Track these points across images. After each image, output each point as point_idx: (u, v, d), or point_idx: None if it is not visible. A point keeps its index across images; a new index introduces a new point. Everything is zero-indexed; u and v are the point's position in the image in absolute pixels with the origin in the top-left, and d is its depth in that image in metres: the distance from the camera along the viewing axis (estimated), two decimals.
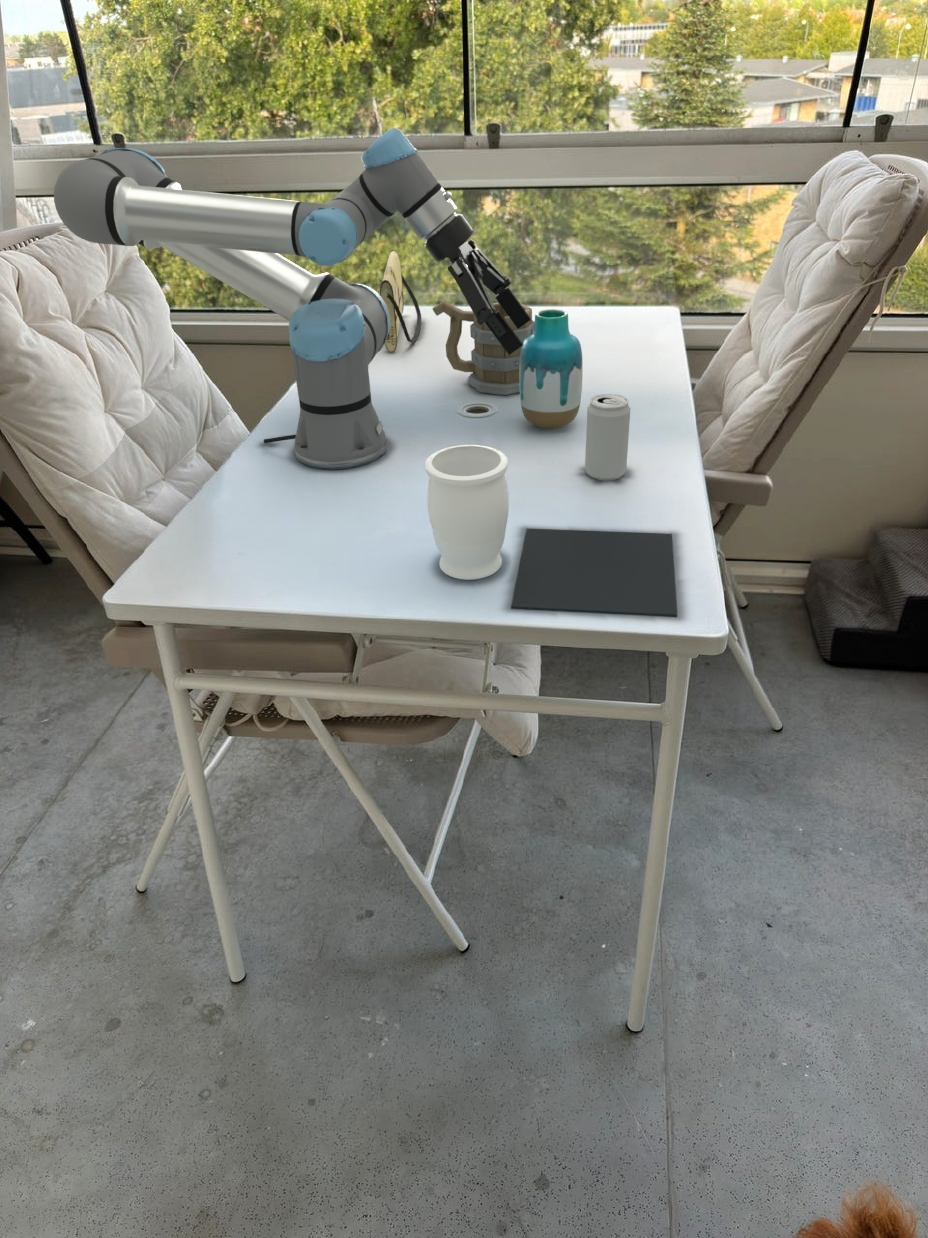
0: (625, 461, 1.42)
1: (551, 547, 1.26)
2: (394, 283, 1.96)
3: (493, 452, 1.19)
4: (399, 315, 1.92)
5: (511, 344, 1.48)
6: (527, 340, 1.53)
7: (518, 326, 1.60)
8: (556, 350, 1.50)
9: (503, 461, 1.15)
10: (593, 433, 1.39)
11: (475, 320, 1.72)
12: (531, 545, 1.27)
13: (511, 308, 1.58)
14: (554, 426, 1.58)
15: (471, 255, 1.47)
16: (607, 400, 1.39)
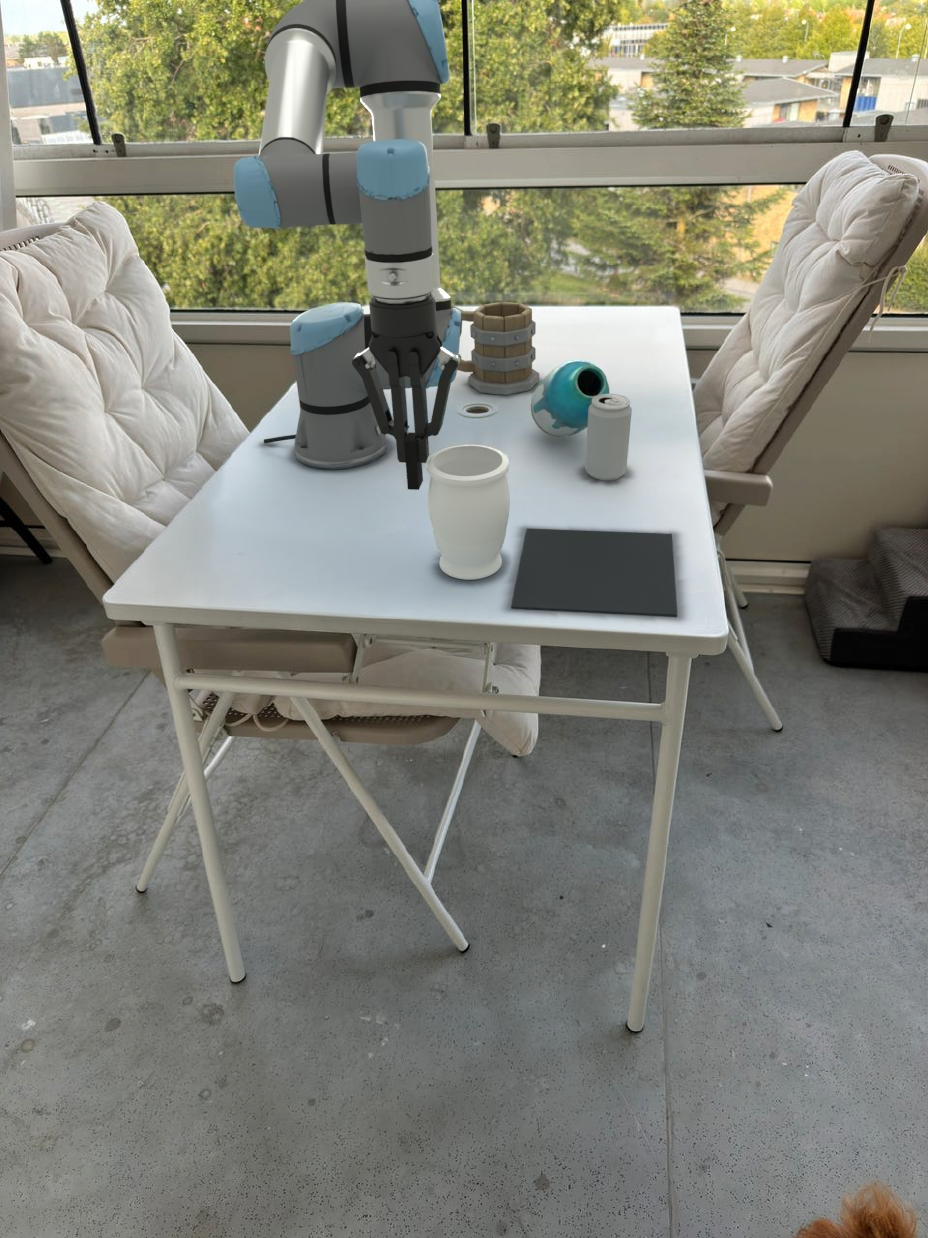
0: (625, 461, 1.42)
1: (551, 547, 1.26)
2: None
3: (494, 452, 1.19)
4: None
5: None
6: (557, 387, 1.43)
7: None
8: (582, 418, 1.45)
9: (504, 461, 1.15)
10: (594, 434, 1.39)
11: (475, 320, 1.72)
12: (531, 545, 1.27)
13: None
14: None
15: (387, 352, 1.07)
16: (608, 401, 1.38)
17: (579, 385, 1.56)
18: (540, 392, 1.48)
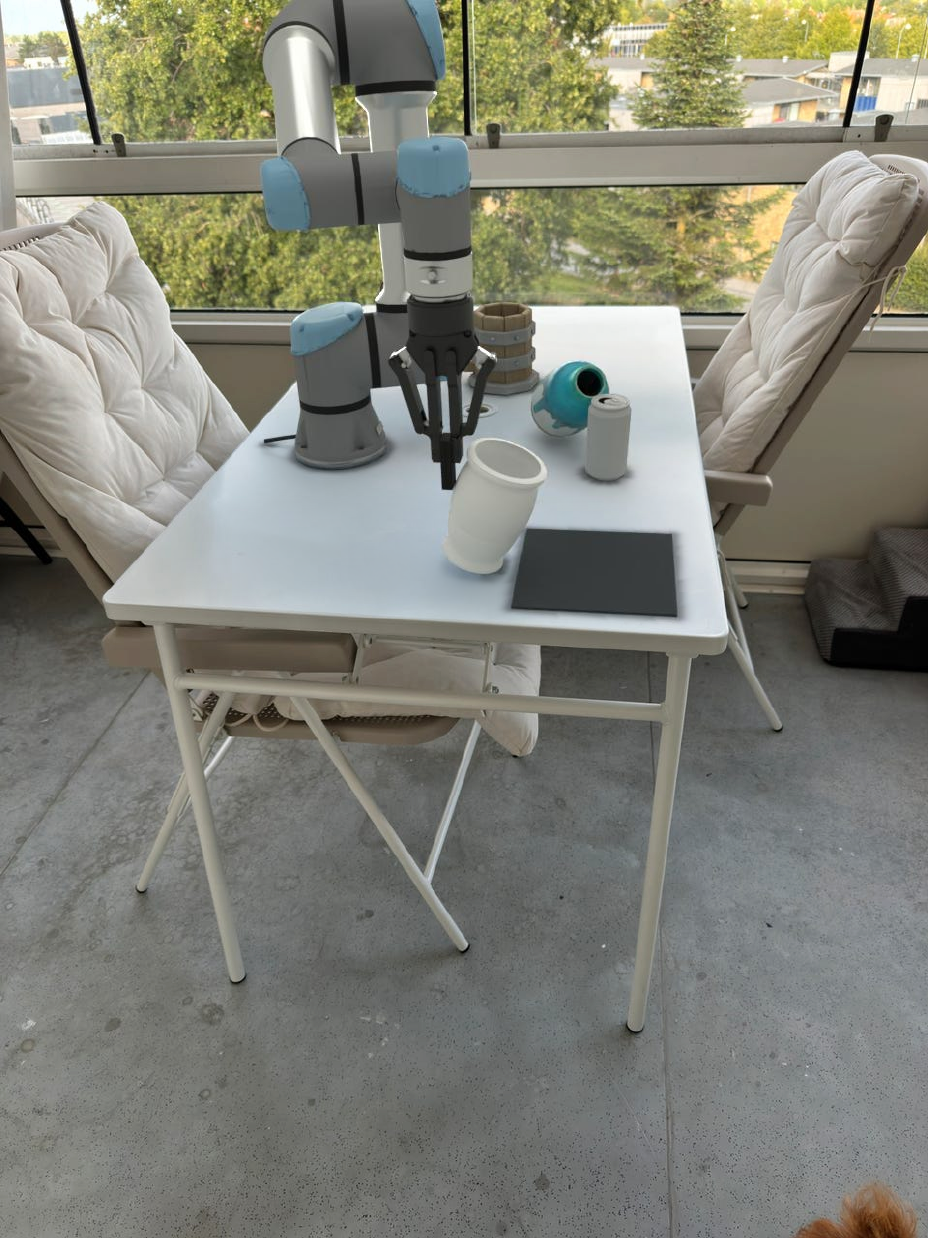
0: (625, 461, 1.42)
1: (551, 547, 1.26)
2: None
3: (531, 456, 1.18)
4: None
5: None
6: (557, 387, 1.43)
7: None
8: (582, 418, 1.45)
9: (543, 470, 1.15)
10: (594, 434, 1.39)
11: (475, 320, 1.72)
12: (531, 545, 1.27)
13: None
14: None
15: (424, 352, 1.07)
16: (608, 401, 1.38)
17: (579, 385, 1.56)
18: (540, 392, 1.48)
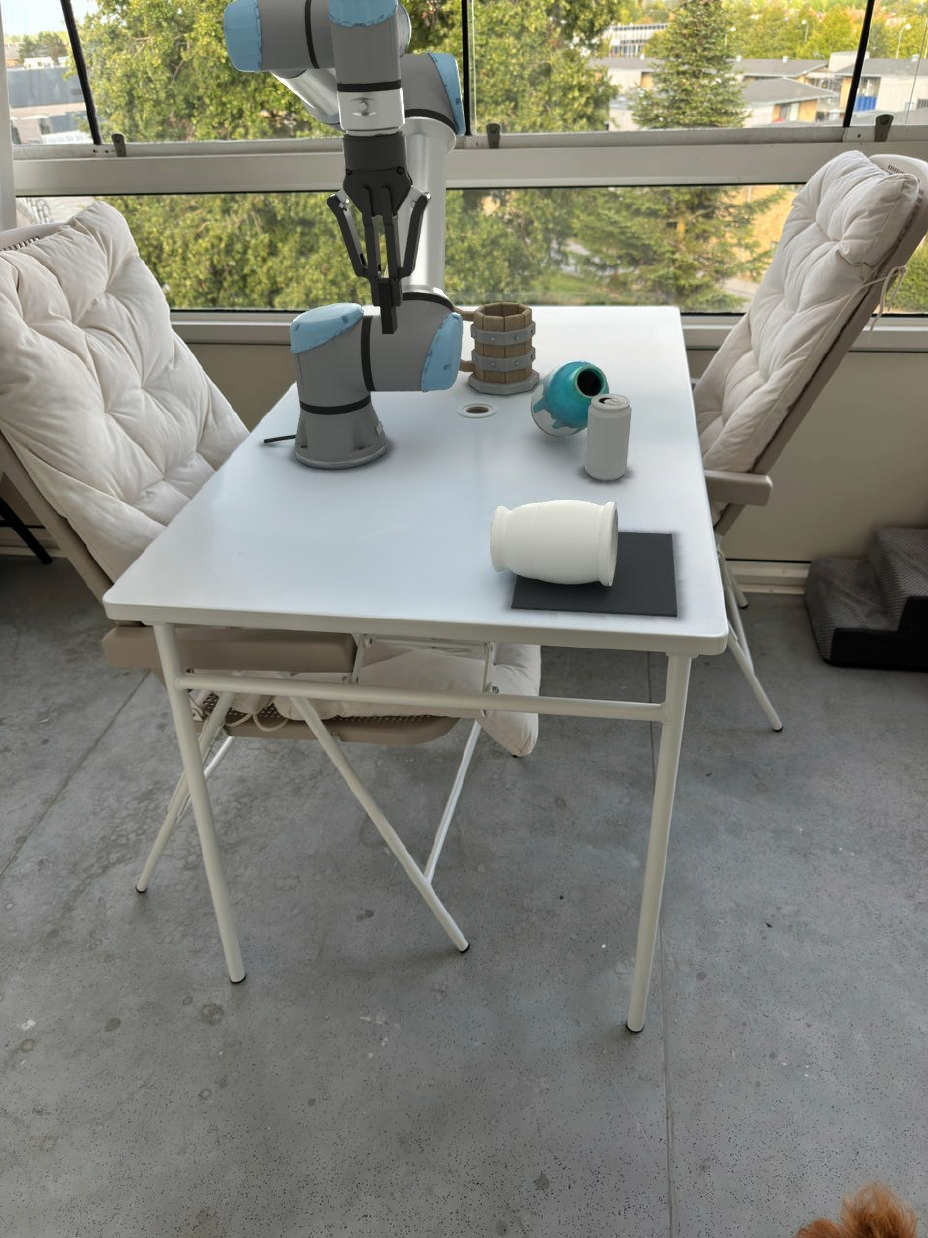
0: (625, 461, 1.42)
1: None
2: None
3: (613, 529, 1.20)
4: None
5: None
6: (557, 387, 1.43)
7: None
8: (582, 418, 1.45)
9: (615, 561, 1.19)
10: (594, 434, 1.39)
11: (475, 320, 1.72)
12: None
13: None
14: None
15: (360, 190, 1.12)
16: (608, 401, 1.38)
17: (579, 385, 1.56)
18: (540, 392, 1.48)
